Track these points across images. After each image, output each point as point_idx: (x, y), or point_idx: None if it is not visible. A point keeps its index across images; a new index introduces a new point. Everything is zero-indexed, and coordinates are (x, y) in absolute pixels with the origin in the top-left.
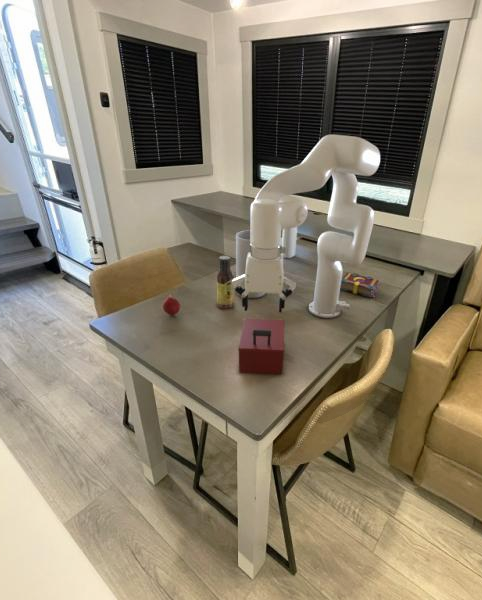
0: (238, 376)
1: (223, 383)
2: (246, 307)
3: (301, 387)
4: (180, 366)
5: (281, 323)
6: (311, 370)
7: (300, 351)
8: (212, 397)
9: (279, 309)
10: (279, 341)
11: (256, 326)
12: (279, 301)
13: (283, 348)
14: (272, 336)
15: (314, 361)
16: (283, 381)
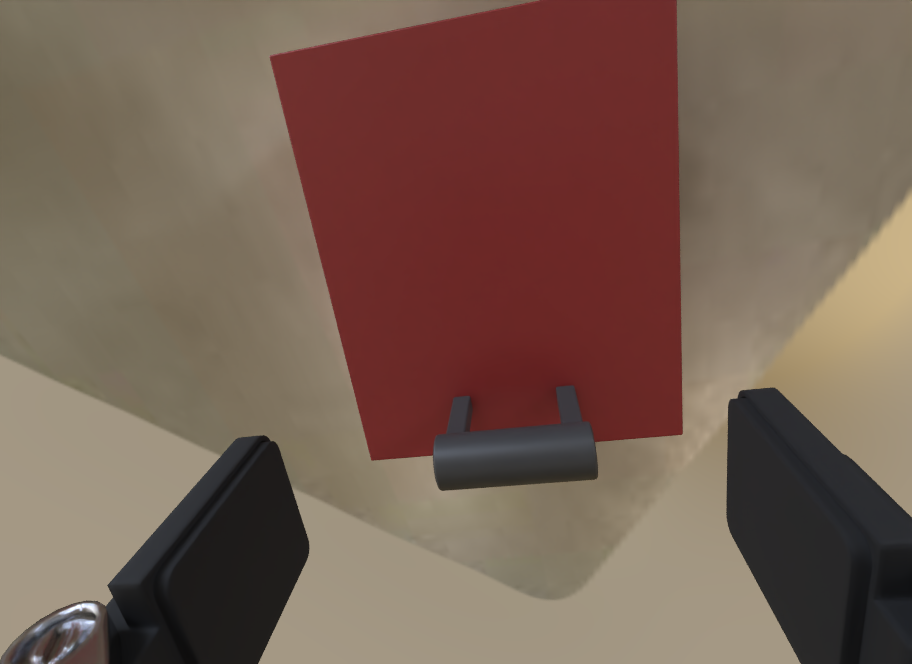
0: None
1: None
2: (284, 591)
3: (734, 397)
4: (131, 358)
5: (651, 59)
6: (806, 265)
7: (751, 85)
8: (351, 499)
9: (750, 559)
10: (645, 344)
11: (420, 176)
12: (783, 500)
13: (679, 417)
14: (582, 292)
15: (840, 176)
16: None
